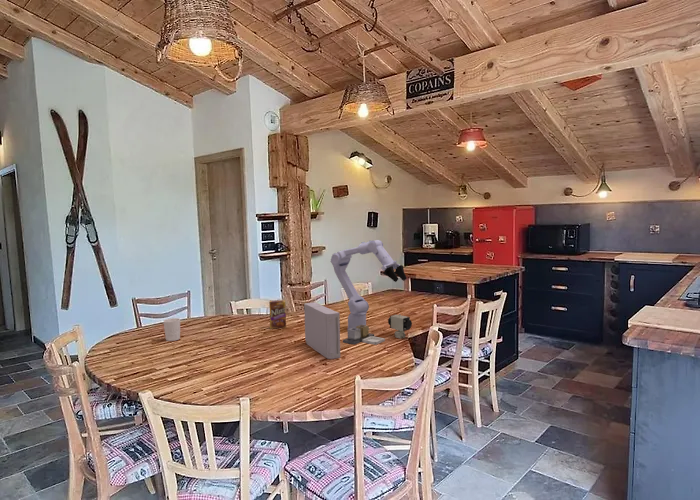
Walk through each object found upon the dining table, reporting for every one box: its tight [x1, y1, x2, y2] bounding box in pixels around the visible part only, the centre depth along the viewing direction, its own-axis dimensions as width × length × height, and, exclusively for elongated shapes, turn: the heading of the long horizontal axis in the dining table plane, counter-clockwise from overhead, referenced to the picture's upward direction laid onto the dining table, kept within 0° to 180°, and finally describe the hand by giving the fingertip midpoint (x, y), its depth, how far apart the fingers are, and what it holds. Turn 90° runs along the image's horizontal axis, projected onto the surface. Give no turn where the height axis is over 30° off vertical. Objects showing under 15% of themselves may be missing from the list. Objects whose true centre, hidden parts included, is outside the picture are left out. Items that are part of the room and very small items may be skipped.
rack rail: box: [342, 333, 375, 346], centre depth 225 cm, size 7×17×2 cm, turn 143°
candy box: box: [269, 299, 287, 330], centre depth 251 cm, size 9×4×15 cm, turn 98°
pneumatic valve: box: [387, 313, 413, 339], centre depth 228 cm, size 6×12×12 cm, turn 46°
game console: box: [303, 301, 341, 360], centre depth 209 cm, size 6×27×20 cm, turn 27°
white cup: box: [163, 317, 181, 342], centre depth 233 cm, size 8×8×10 cm
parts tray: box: [361, 335, 386, 346], centre depth 221 cm, size 8×8×2 cm
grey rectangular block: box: [346, 328, 361, 341], centre depth 222 cm, size 4×4×6 cm
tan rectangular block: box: [356, 324, 370, 338], centre depth 227 cm, size 4×4×6 cm
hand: (401, 280), depth 223 cm, fingers open, 7 cm apart
